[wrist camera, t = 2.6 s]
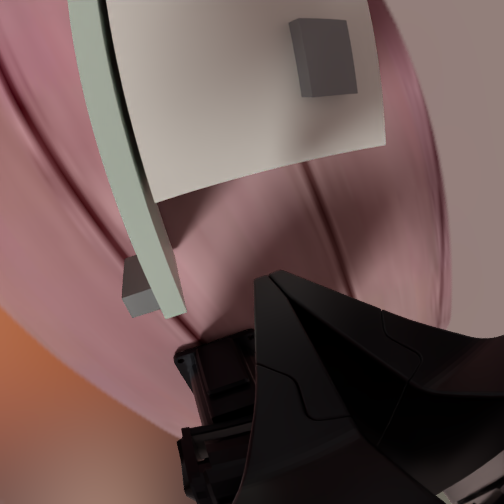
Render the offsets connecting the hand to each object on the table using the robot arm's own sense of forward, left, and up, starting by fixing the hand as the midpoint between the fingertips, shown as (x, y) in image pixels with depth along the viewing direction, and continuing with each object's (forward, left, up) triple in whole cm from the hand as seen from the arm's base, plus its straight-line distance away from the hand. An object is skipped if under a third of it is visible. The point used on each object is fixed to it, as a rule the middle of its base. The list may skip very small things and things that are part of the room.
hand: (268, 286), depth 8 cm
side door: (+7, +4, -9) cm, 12 cm away
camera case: (+9, -3, -9) cm, 13 cm away
